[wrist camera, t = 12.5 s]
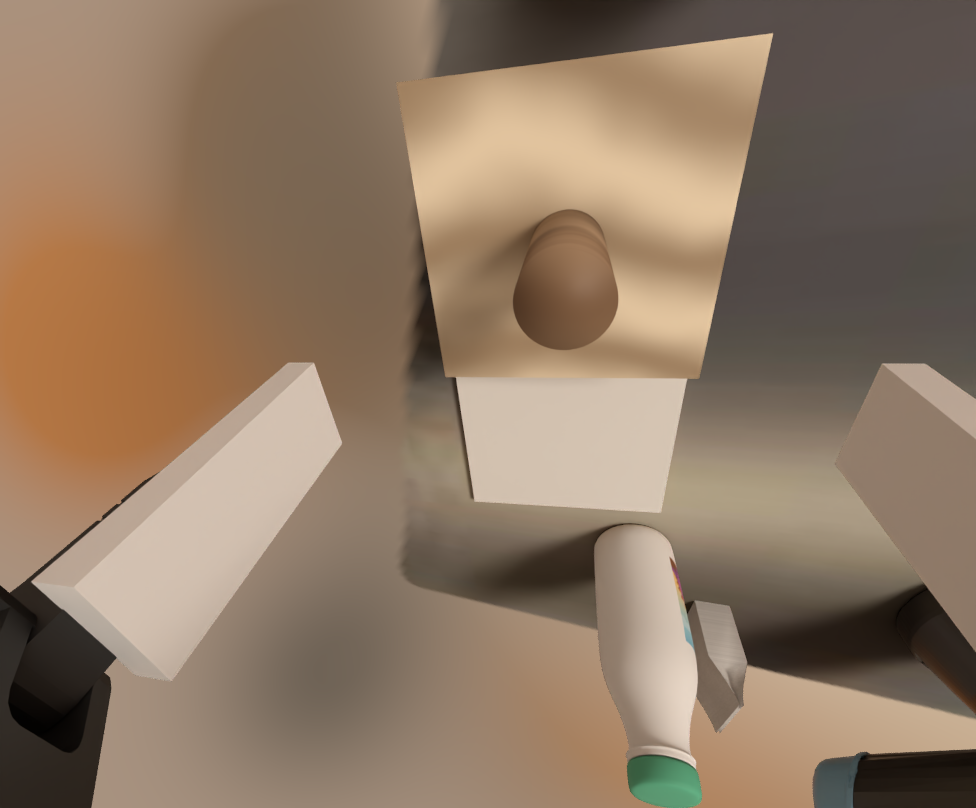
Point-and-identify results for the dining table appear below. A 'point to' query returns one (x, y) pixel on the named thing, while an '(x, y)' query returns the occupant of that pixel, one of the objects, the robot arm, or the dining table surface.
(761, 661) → the dining table surface
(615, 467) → the mat
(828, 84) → the dining table surface
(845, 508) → the dining table surface
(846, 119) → the dining table surface
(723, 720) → the grey box
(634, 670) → the milk bottle
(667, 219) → the lid
